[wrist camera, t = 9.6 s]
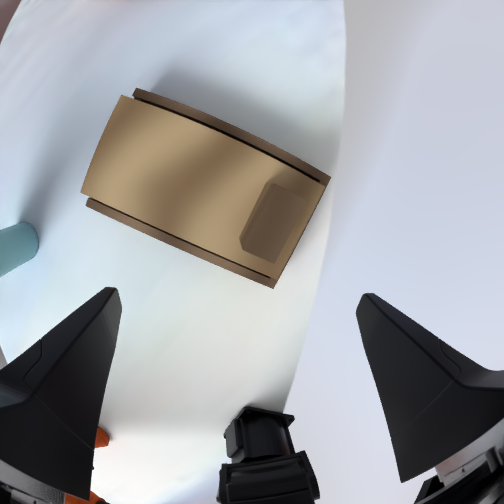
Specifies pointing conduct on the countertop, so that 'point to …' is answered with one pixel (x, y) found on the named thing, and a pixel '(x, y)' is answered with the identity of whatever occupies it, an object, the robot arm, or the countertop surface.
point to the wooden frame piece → (230, 132)
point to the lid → (201, 186)
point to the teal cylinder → (17, 246)
